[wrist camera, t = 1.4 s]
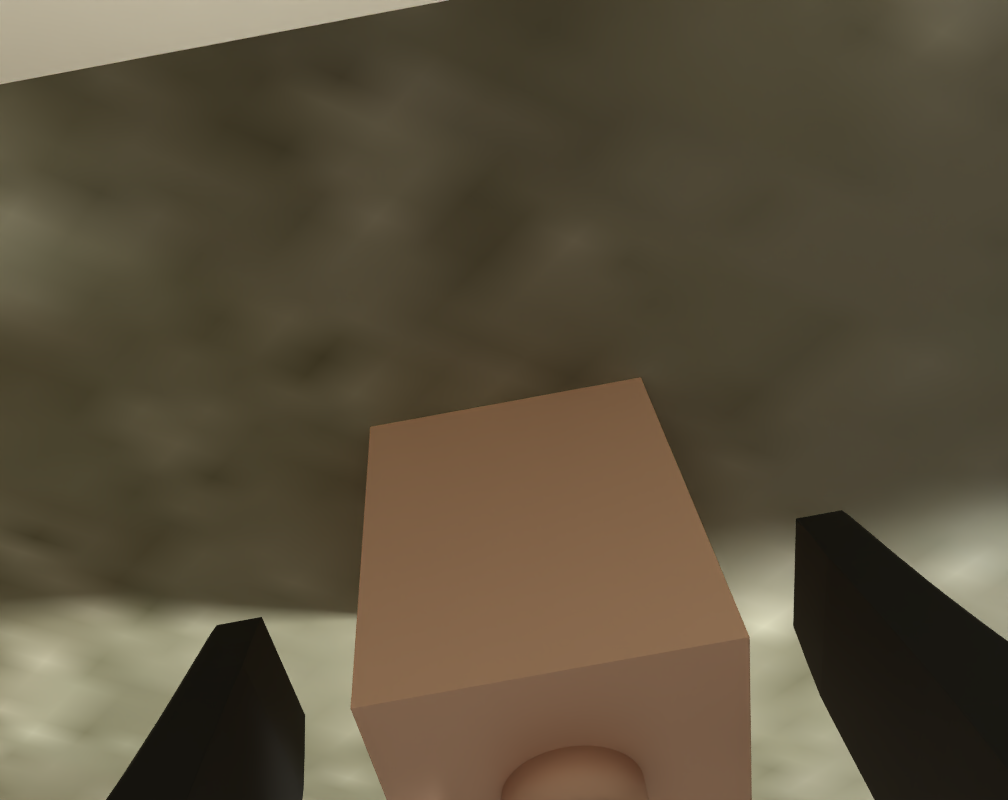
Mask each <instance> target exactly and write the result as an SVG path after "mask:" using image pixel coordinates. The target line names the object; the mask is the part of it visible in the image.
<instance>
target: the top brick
mask: <svg viewBox="0 0 1008 800" xmlns="http://www.w3.org/2000/svg"><path fill="white" fill-rule="evenodd" d="M351 710H352V713H353V715H354V718H355V721H356V723H357V726H358V728H359V731H360V733H361V736H362V738H363V741H364V743H365V746H366V748H367V751H368V753H369V756H370V758H371V761H372V763H373V766H374V769H375V771H376V774H377V776H378V779H379V781H380V784H381V786H382V789H383V791H384V794H385V796H386V799H387V800H752V792H751V716H750V640H749V635H748V632H747V630H746V628H745V625H744V623H743V620H742V618H741V616H740V613H739V611H738V608H737V606H736V604H735V601H734V599H733V597H732V594H731V592H730V589H729V587H728V585H727V582H726V580H725V577H724V575H723V573H722V570H721V568H720V565H719V563H718V561H717V558H716V556H715V554H714V551H713V549H712V546H711V544H710V542H709V539H708V537H707V534H706V532H705V530H704V527H703V525H702V522H701V520H700V518H699V515H698V513H697V511H696V508H695V506H694V503H693V501H692V499H691V496H690V494H689V491H688V489H687V487H686V484H685V482H684V479H683V477H682V475H681V472H680V470H679V468H678V465H677V463H676V460H675V458H674V456H673V453H672V451H671V448H670V446H669V444H668V441H667V439H666V436H665V434H664V432H663V429H662V427H661V425H660V422H659V420H658V417H657V415H656V413H655V410H654V408H653V405H652V403H651V401H650V398H649V396H648V394H647V391H646V389H645V386H644V384H643V382H642V379H641V377H639V378H634V379H629V380H623V381H618V382H612V383H607V384H601V385H596V386H590V387H585V388H579V389H574V390H568V391H563V392H558V393H552V394H547V395H541V396H536V397H530V398H525V399H519V400H514V401H508V402H503V403H497V404H492V405H487V406H481V407H476V408H470V409H465V410H459V411H454V412H448V413H443V414H437V415H432V416H426V417H421V418H415V419H410V420H405V421H399V422H394V423H388V424H383V425H377V426H372V427H370V437H369V451H368V466H367V480H366V495H365V509H364V524H363V538H362V553H361V567H360V581H359V596H358V610H357V625H356V639H355V654H354V668H353V683H352V697H351Z"/></svg>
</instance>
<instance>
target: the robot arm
mask: <svg viewBox="0 0 1008 800" xmlns="http://www.w3.org/2000/svg"><path fill="white" fill-rule="evenodd" d="M793 626H794V629H795V631H796V634H797V637H798V639H799V642H800V645H801V647H802V650H803V653H804V656H805V658H806V661H807V664H808V666H809V669H810V671H811V674H812V676H813V679H814V681H815V684H816V686H817V689H818V691H819V694H820V696H821V698H822V700H823V702H824V704H825V706H826V708H827V710H828V712H829V714H830V716H831V718H832V720H833V722H834V723H835V725H836V727H837V729H838V731H839V733H840V735H841V737H842V739H843V741H844V743H845V745H846V746H847V748H848V750H849V752H850V754H851V756H852V758H853V760H854V762H855V764H856V765H857V767H858V769H859V771H860V773H861V775H862V777H863V779H864V781H865V782H866V784H867V786H868V788H869V790H870V792H871V794H872V796H873V797H874V799H875V800H1008V641H1007V640H1005V639H1004V638H1003V637H1001V636H1000V635H998V634H997V633H996V632H994V631H993V630H992V629H990V628H989V627H988V626H986V625H985V624H984V623H982V622H981V621H980V620H978V619H977V618H976V617H974V616H973V615H972V614H970V613H969V612H968V611H966V610H965V609H964V608H963V607H961V606H960V605H959V604H957V603H956V602H955V601H953V600H952V599H951V598H949V597H948V596H947V595H945V594H944V593H943V592H942V591H940V590H939V589H938V588H937V587H935V586H934V585H933V584H931V583H930V582H929V581H928V580H926V579H925V578H924V577H923V576H922V575H920V574H919V573H918V572H917V571H915V570H914V569H913V568H912V567H910V566H909V565H908V564H907V563H906V562H904V561H903V560H902V559H901V558H899V557H898V556H897V555H896V554H895V553H893V552H892V551H891V550H890V549H889V548H887V547H886V546H885V545H884V544H883V543H881V542H880V541H879V540H878V539H877V538H875V537H874V536H873V535H872V534H871V533H869V532H868V531H867V530H866V529H865V528H863V527H862V526H861V525H860V524H859V523H858V522H856V521H855V520H854V519H853V518H851V517H850V516H849V515H848V514H846V513H845V512H843V511H842V510H841V511H835V512H830V513H825V514H819V515H814V516H808V517H803V518H797V519H796V543H795V582H794V621H793ZM304 757H305V714H304V712H303V710H302V707H301V705H300V703H299V700H298V698H297V696H296V694H295V691H294V689H293V687H292V685H291V682H290V680H289V678H288V676H287V673H286V671H285V669H284V667H283V664H282V662H281V660H280V657H279V655H278V653H277V651H276V648H275V646H274V644H273V642H272V639H271V637H270V635H269V633H268V630H267V628H266V626H265V624H264V621H263V619H262V617H259V618H254V619H248V620H243V621H237V622H232V623H226V624H221V625H217V626H216V627H215V629H214V630H213V631H212V633H211V634H210V636H209V638H208V639H207V641H206V642H205V644H204V646H203V647H202V649H201V651H200V652H199V654H198V656H197V657H196V659H195V661H194V662H193V664H192V666H191V667H190V669H189V671H188V672H187V674H186V676H185V677H184V679H183V681H182V682H181V684H180V685H179V687H178V689H177V690H176V692H175V694H174V695H173V697H172V699H171V700H170V702H169V703H168V705H167V707H166V708H165V710H164V712H163V713H162V715H161V716H160V718H159V720H158V721H157V723H156V724H155V726H154V728H153V729H152V731H151V732H150V734H149V735H148V737H147V738H146V740H145V742H144V743H143V745H142V746H141V748H140V749H139V751H138V752H137V754H136V756H135V757H134V759H133V760H132V762H131V763H130V765H129V766H128V768H127V770H126V771H125V773H124V774H123V776H122V777H121V779H120V780H119V782H118V783H117V785H116V786H115V787H114V789H113V790H112V792H111V793H110V795H109V796H108V797H107V799H106V800H302V797H303V788H304Z"/></svg>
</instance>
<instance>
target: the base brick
mask: <svg viewBox="0 0 1008 800" xmlns="http://www.w3.org/2000/svg"><path fill="white" fill-rule="evenodd" d="M441 1H447V0H0V84H5V83H10V82H15V81H21V80H26V79H31V78H37V77H42V76H47V75H53V74H58V73H63V72H69V71H74V70H79V69H85V68H90V67H95V66H101V65H106V64H111V63H117V62H122V61H127V60H133V59H138V58H143V57H148V56H154V55H159V54H164V53H170V52H175V51H180V50H186V49H191V48H196V47H202V46H207V45H212V44H218V43H223V42H228V41H234V40H239V39H244V38H250V37H255V36H260V35H266V34H271V33H276V32H282V31H287V30H292V29H298V28H303V27H308V26H314V25H319V24H324V23H330V22H335V21H340V20H346V19H351V18H356V17H361V16H367V15H372V14H377V13H383V12H388V11H393V10H399V9H404V8H409V7H415V6H420V5H425V4H431V3H436V2H441Z"/></svg>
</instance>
